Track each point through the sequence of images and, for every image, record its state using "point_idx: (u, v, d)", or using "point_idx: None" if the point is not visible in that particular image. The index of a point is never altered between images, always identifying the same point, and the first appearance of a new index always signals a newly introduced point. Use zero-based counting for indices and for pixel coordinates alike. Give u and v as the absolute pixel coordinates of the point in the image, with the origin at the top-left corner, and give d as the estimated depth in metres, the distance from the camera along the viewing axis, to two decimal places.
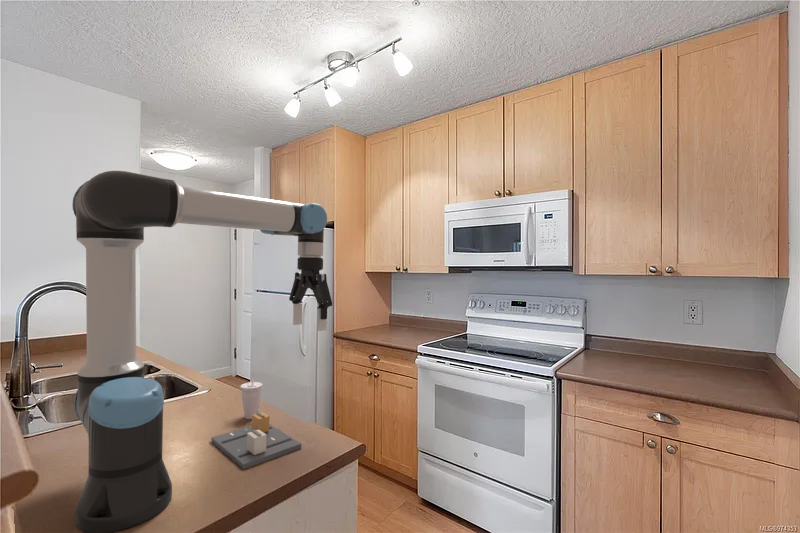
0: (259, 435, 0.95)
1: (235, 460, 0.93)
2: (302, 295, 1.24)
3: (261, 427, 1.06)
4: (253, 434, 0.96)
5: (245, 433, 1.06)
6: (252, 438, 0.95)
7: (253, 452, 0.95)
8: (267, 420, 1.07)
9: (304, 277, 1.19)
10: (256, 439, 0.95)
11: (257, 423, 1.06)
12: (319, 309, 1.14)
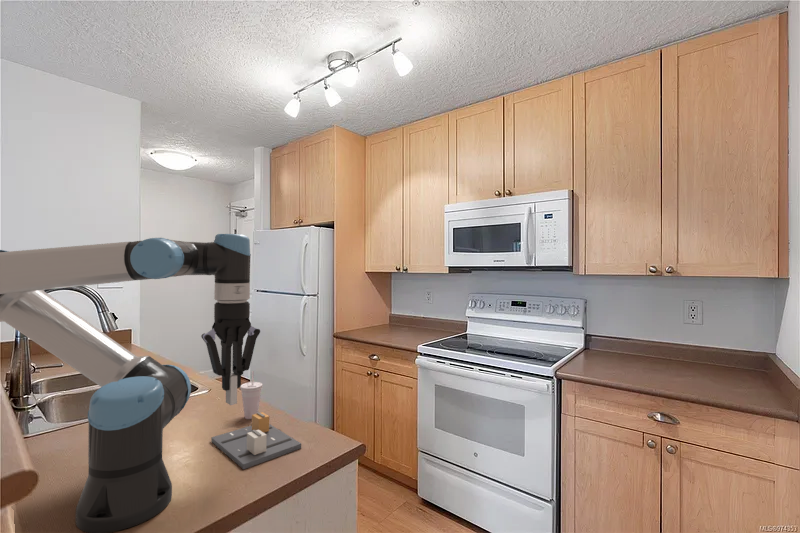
0: (259, 435, 0.95)
1: (235, 460, 0.93)
2: (235, 358, 0.92)
3: (261, 427, 1.06)
4: (253, 434, 0.96)
5: (245, 433, 1.06)
6: (252, 438, 0.95)
7: (253, 452, 0.95)
8: (267, 420, 1.07)
9: None
10: (256, 439, 0.95)
11: (257, 423, 1.06)
12: None
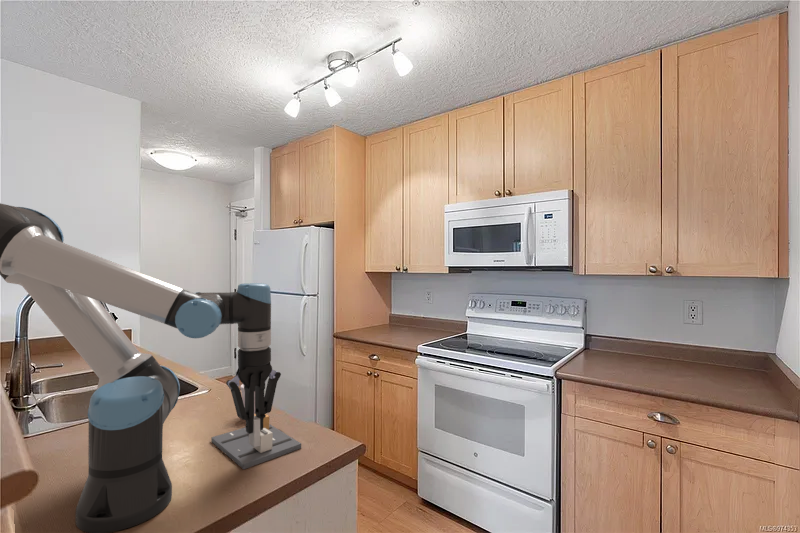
0: (265, 433, 0.97)
1: (235, 460, 0.93)
2: (258, 402, 0.96)
3: None
4: None
5: (245, 433, 1.06)
6: None
7: (259, 450, 0.96)
8: (267, 420, 1.07)
9: None
10: (262, 437, 0.96)
11: None
12: None
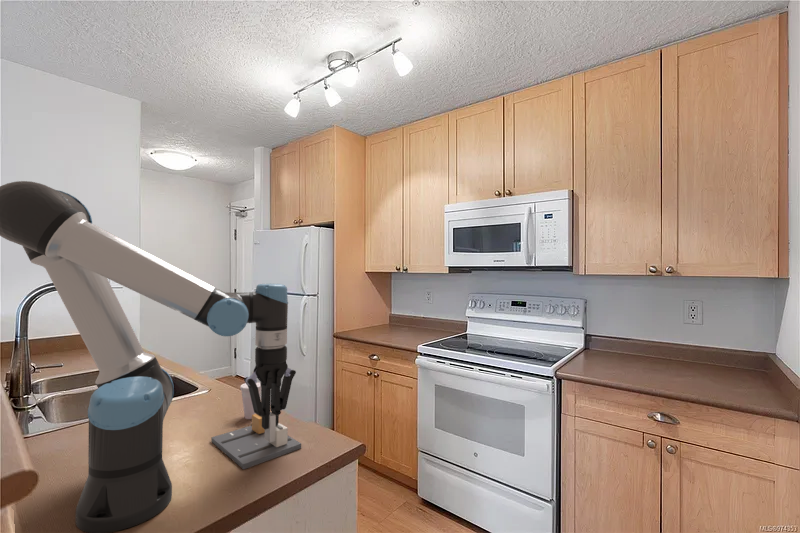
0: (281, 428, 1.00)
1: (235, 460, 0.93)
2: (274, 398, 0.99)
3: (261, 427, 1.06)
4: None
5: (245, 433, 1.06)
6: None
7: (275, 444, 0.99)
8: None
9: None
10: (278, 432, 0.99)
11: (257, 423, 1.06)
12: None
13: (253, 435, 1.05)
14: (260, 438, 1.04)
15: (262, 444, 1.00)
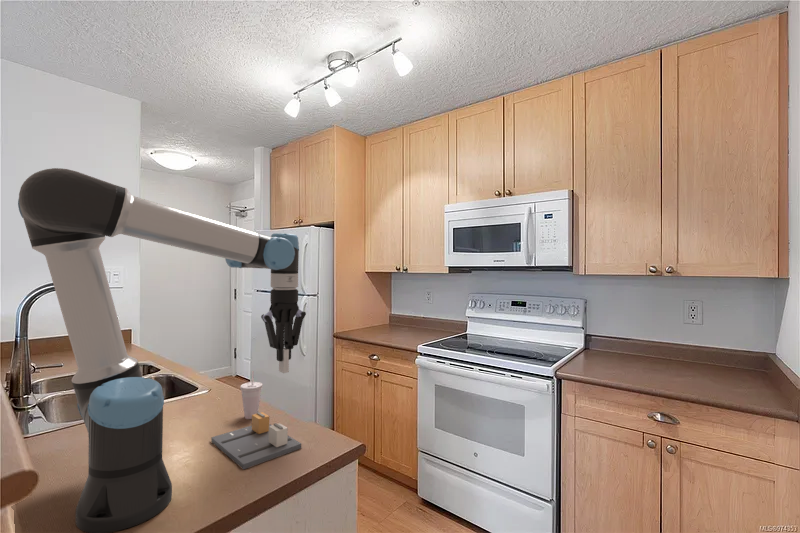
0: (281, 428, 1.00)
1: (235, 460, 0.93)
2: (287, 335, 1.12)
3: (261, 427, 1.06)
4: (275, 427, 1.00)
5: (245, 433, 1.06)
6: (274, 431, 0.99)
7: (275, 444, 0.99)
8: (267, 420, 1.07)
9: None
10: (278, 432, 0.99)
11: (257, 423, 1.06)
12: None
13: (253, 435, 1.05)
14: (260, 438, 1.04)
15: (262, 444, 1.00)
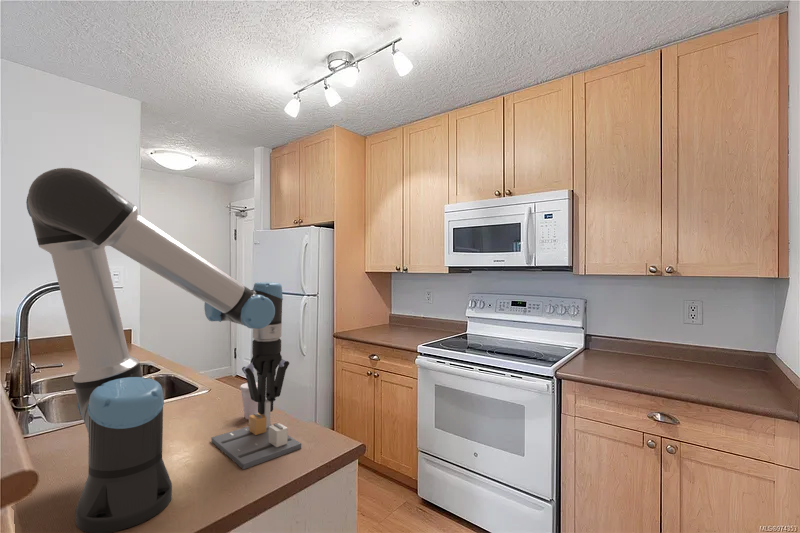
0: (281, 428, 1.00)
1: (235, 460, 0.93)
2: (269, 387, 1.09)
3: (258, 428, 1.06)
4: (275, 427, 1.00)
5: (245, 433, 1.06)
6: (274, 431, 0.99)
7: (275, 444, 0.99)
8: (264, 421, 1.07)
9: None
10: (278, 432, 0.99)
11: (254, 424, 1.05)
12: None
13: (253, 435, 1.05)
14: (260, 438, 1.04)
15: (262, 444, 1.00)
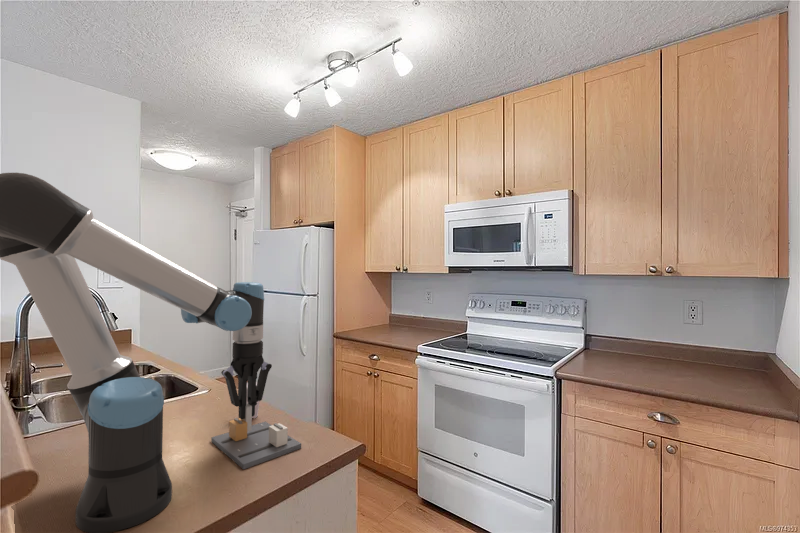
0: (281, 428, 1.00)
1: (235, 460, 0.93)
2: (250, 390, 1.05)
3: (239, 434, 1.02)
4: (275, 427, 1.00)
5: None
6: (274, 431, 0.99)
7: (275, 444, 0.99)
8: (244, 427, 1.03)
9: None
10: (278, 432, 0.99)
11: (234, 430, 1.02)
12: None
13: (253, 435, 1.05)
14: (260, 438, 1.04)
15: (262, 444, 1.00)
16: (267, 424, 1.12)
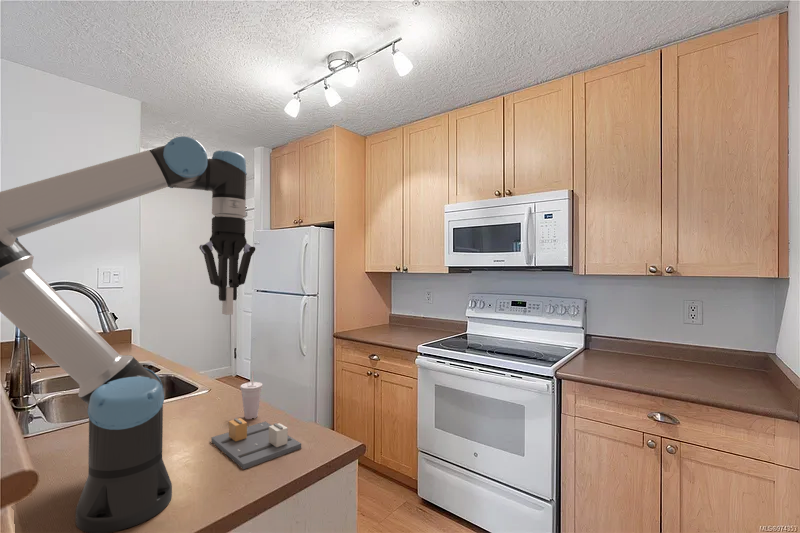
0: (281, 428, 1.00)
1: (235, 460, 0.93)
2: (232, 271, 0.97)
3: (239, 434, 1.02)
4: (275, 427, 1.00)
5: None
6: (274, 431, 0.99)
7: (275, 444, 0.99)
8: (244, 427, 1.03)
9: None
10: (278, 432, 0.99)
11: (234, 430, 1.02)
12: None
13: (253, 435, 1.05)
14: (260, 438, 1.04)
15: (262, 444, 1.00)
16: (267, 424, 1.12)
